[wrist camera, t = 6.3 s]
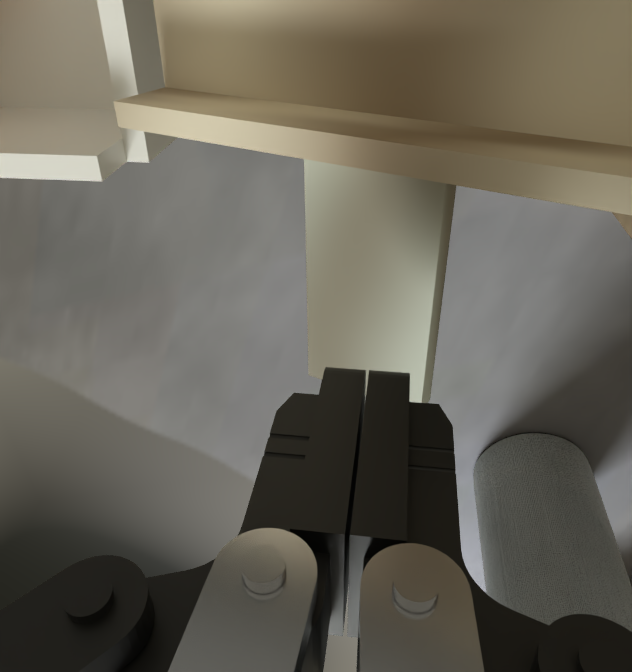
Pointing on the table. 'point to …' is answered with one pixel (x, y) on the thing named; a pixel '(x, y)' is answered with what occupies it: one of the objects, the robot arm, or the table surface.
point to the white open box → (75, 86)
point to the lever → (400, 135)
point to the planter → (547, 532)
